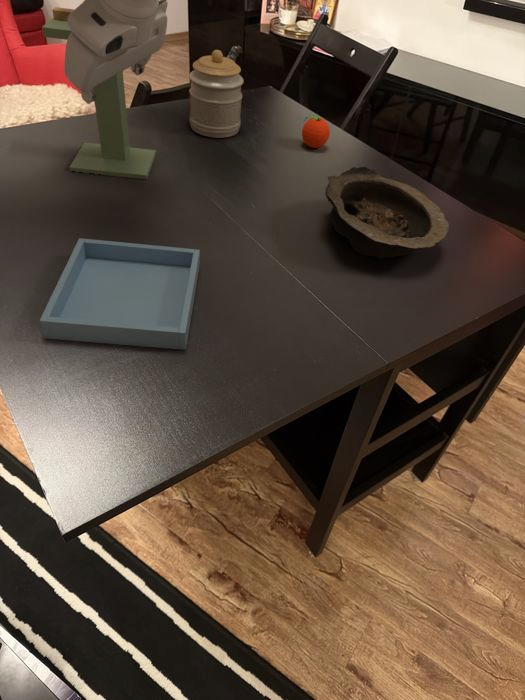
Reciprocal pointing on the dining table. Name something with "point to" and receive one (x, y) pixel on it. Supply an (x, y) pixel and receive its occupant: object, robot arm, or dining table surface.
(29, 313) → the dining table surface
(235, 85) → the jar
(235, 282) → the dining table surface
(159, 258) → the tray
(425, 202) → the stone bowl
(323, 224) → the dining table surface
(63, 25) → the green pedestal stand
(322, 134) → the clementine
